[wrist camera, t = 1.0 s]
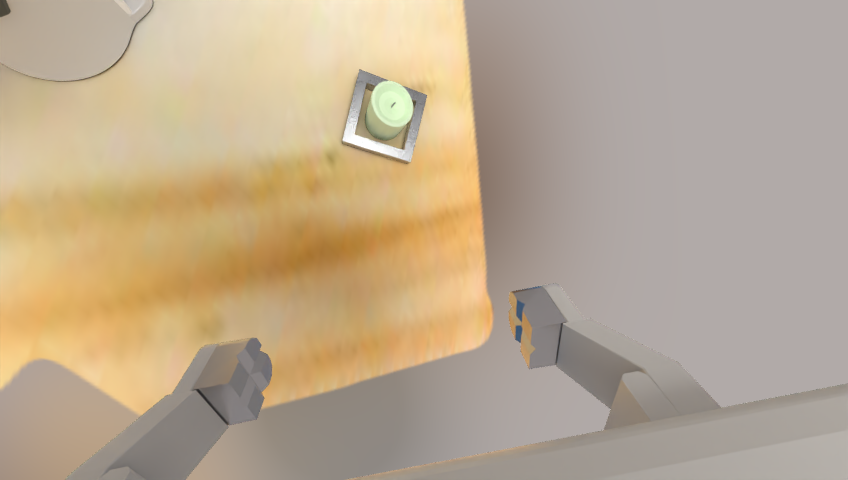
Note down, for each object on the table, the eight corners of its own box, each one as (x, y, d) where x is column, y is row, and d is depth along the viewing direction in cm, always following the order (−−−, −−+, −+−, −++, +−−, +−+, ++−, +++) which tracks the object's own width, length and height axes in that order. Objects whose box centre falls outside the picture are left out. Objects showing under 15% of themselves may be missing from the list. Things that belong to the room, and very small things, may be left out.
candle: (398, 100, 42) (412, 76, 34) (404, 138, 43) (420, 123, 35) (361, 103, 41) (367, 79, 33) (368, 142, 42) (376, 128, 34)
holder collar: (407, 163, 43) (410, 162, 41) (342, 143, 41) (342, 140, 39) (423, 100, 43) (427, 95, 41) (358, 75, 40) (359, 69, 38)
